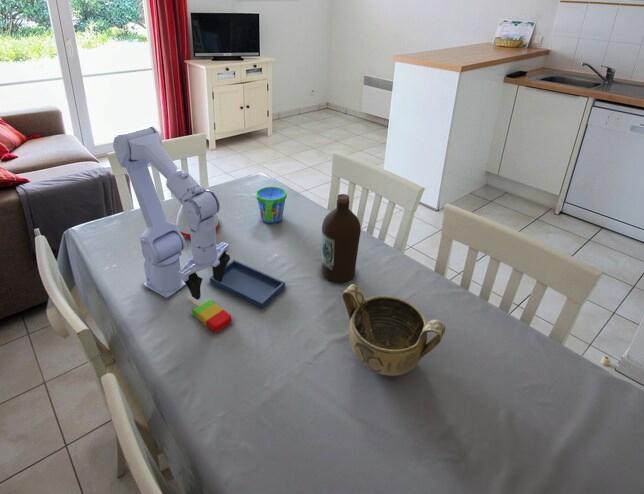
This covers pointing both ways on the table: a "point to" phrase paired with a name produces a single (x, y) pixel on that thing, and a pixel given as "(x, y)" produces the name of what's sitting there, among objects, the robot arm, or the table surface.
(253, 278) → the tray
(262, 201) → the snack cup
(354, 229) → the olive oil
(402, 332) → the ceramic bowl
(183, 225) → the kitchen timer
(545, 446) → the table surface
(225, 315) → the popsicle
